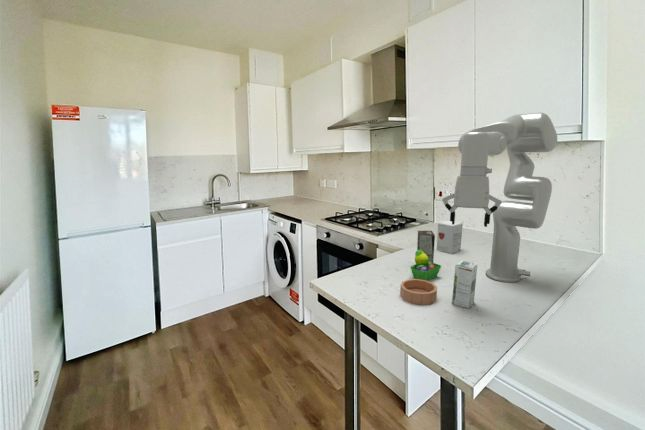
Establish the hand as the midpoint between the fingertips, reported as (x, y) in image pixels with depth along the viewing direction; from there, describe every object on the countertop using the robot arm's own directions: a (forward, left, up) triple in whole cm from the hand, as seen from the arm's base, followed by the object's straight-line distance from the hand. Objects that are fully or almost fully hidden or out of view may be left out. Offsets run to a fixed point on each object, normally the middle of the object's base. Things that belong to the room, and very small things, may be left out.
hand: (469, 224), depth 104 cm
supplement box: (+7, -60, -28) cm, 67 cm away
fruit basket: (+15, -19, -28) cm, 37 cm away
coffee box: (+16, -31, -28) cm, 45 cm away
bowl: (+15, 0, -28) cm, 32 cm away
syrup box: (0, 0, -28) cm, 28 cm away
